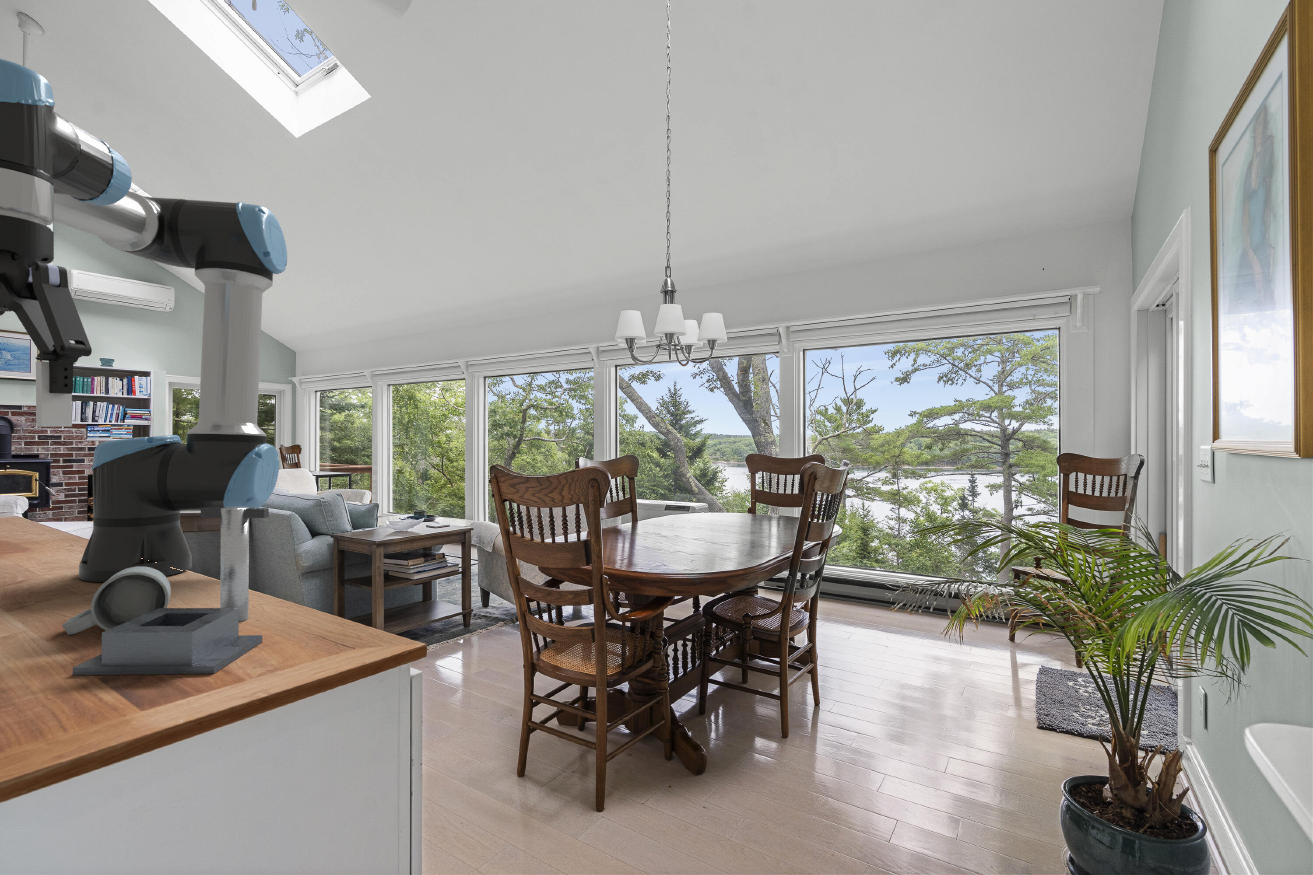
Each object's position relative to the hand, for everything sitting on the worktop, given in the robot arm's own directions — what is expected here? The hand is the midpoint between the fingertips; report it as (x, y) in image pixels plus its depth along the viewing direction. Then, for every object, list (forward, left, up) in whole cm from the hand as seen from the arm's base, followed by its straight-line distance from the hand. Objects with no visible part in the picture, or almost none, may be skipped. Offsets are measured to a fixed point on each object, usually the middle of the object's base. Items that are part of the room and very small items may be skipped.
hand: (6, 425), depth 68 cm
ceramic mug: (-15, +1, -26) cm, 30 cm away
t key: (-18, +13, -26) cm, 34 cm away
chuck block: (-4, +14, -26) cm, 30 cm away
